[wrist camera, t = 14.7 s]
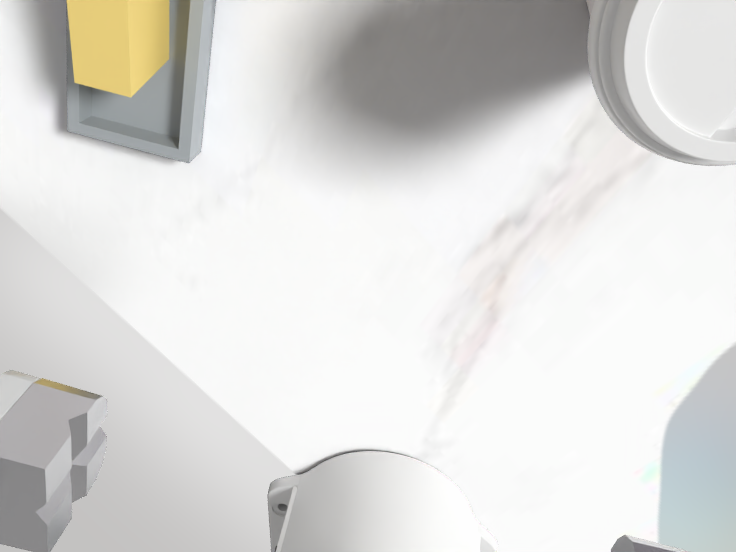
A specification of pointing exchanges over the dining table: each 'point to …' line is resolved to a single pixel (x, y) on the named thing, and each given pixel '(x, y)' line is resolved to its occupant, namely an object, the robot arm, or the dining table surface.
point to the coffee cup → (668, 74)
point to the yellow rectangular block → (118, 42)
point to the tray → (154, 93)
